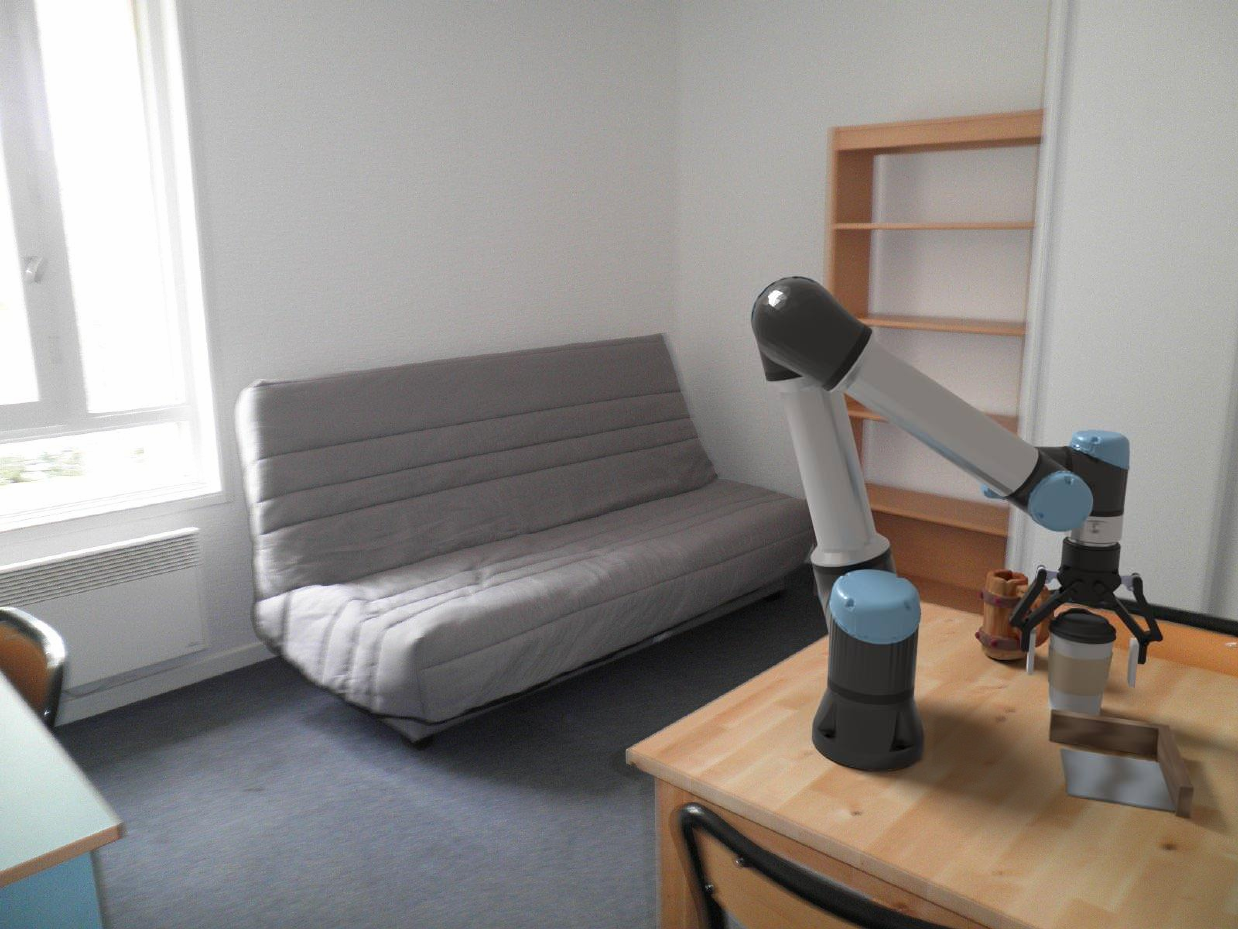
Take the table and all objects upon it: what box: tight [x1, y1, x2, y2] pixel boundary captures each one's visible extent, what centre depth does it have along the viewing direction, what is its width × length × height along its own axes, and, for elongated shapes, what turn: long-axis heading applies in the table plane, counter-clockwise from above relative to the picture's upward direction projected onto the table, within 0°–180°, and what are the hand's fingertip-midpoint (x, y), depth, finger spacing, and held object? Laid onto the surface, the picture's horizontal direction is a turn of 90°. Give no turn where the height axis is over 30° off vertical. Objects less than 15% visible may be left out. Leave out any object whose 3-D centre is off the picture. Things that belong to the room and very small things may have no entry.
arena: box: [1048, 709, 1195, 819], centre depth 130 cm, size 15×17×4 cm
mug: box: [974, 568, 1055, 661], centre depth 164 cm, size 15×8×15 cm, turn 17°
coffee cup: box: [1047, 607, 1117, 716], centre depth 146 cm, size 9×9×15 cm
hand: (1079, 677), depth 147 cm, fingers open, 13 cm apart
